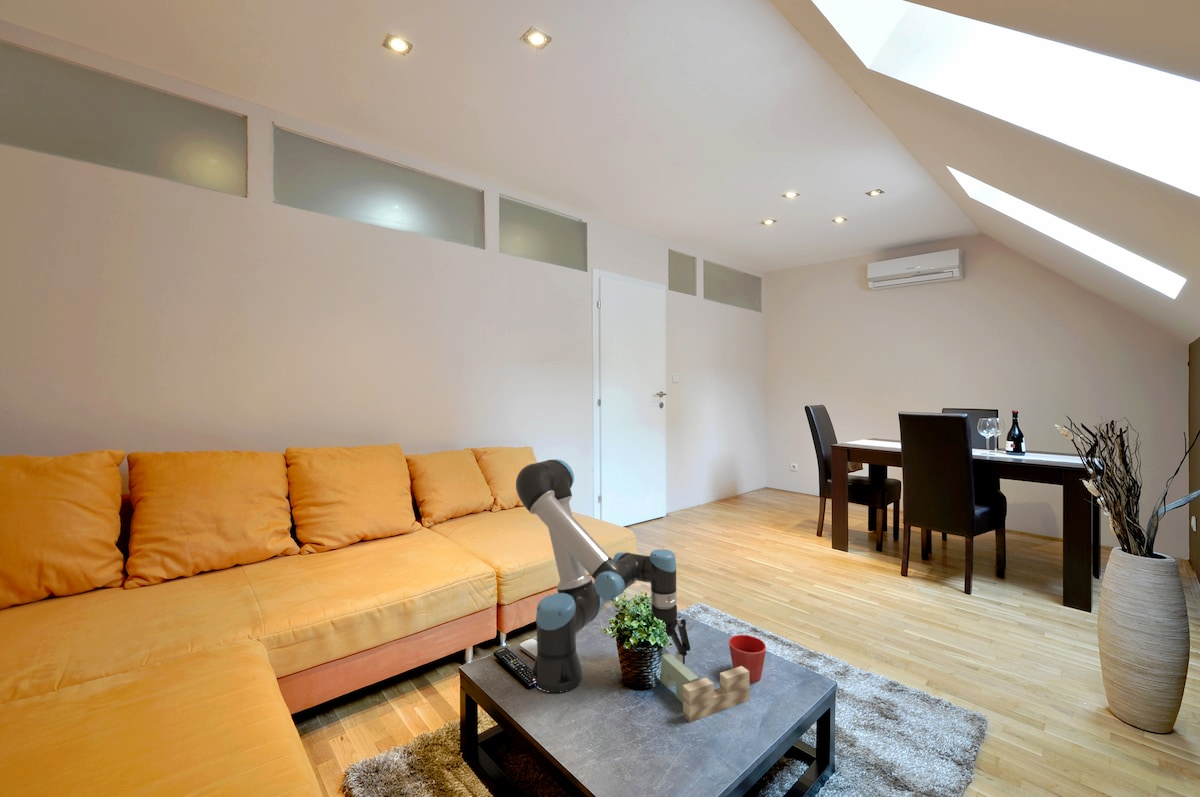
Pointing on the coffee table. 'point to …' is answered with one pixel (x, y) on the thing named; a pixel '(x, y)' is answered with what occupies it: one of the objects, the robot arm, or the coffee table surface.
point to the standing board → (715, 694)
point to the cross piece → (675, 674)
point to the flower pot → (748, 655)
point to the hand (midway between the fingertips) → (665, 679)
